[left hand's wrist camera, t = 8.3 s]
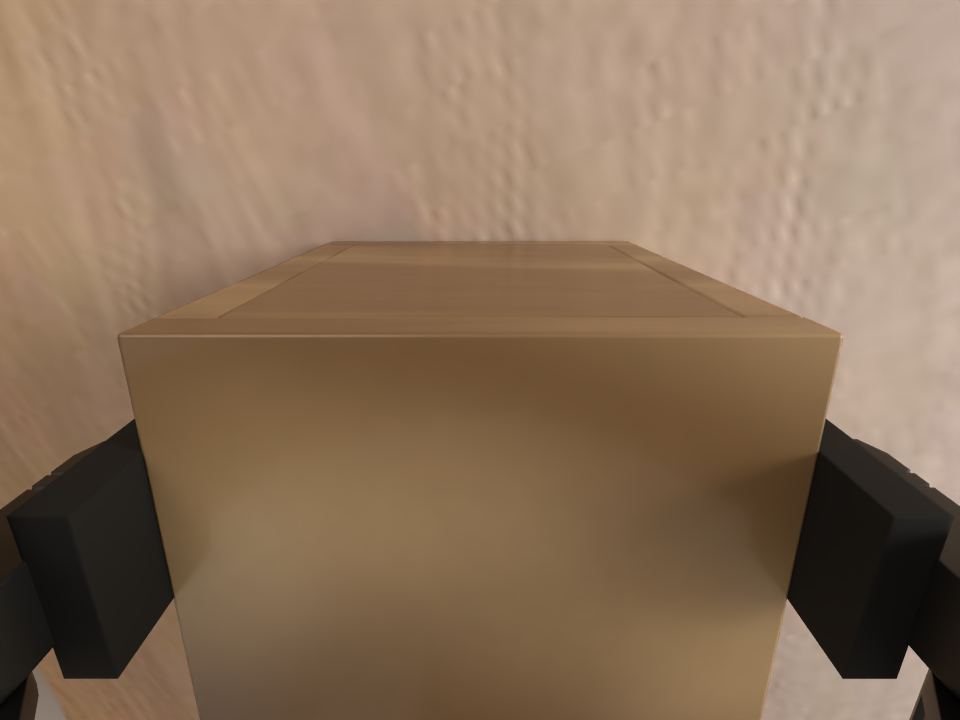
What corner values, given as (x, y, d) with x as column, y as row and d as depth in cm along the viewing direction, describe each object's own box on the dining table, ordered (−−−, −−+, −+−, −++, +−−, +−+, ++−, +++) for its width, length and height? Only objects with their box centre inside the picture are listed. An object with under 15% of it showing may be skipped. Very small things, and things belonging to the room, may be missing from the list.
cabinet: (597, 623, 24) (700, 1010, 13) (362, 623, 24) (261, 1010, 13) (629, 241, 19) (846, 333, 8) (330, 241, 19) (113, 334, 8)
